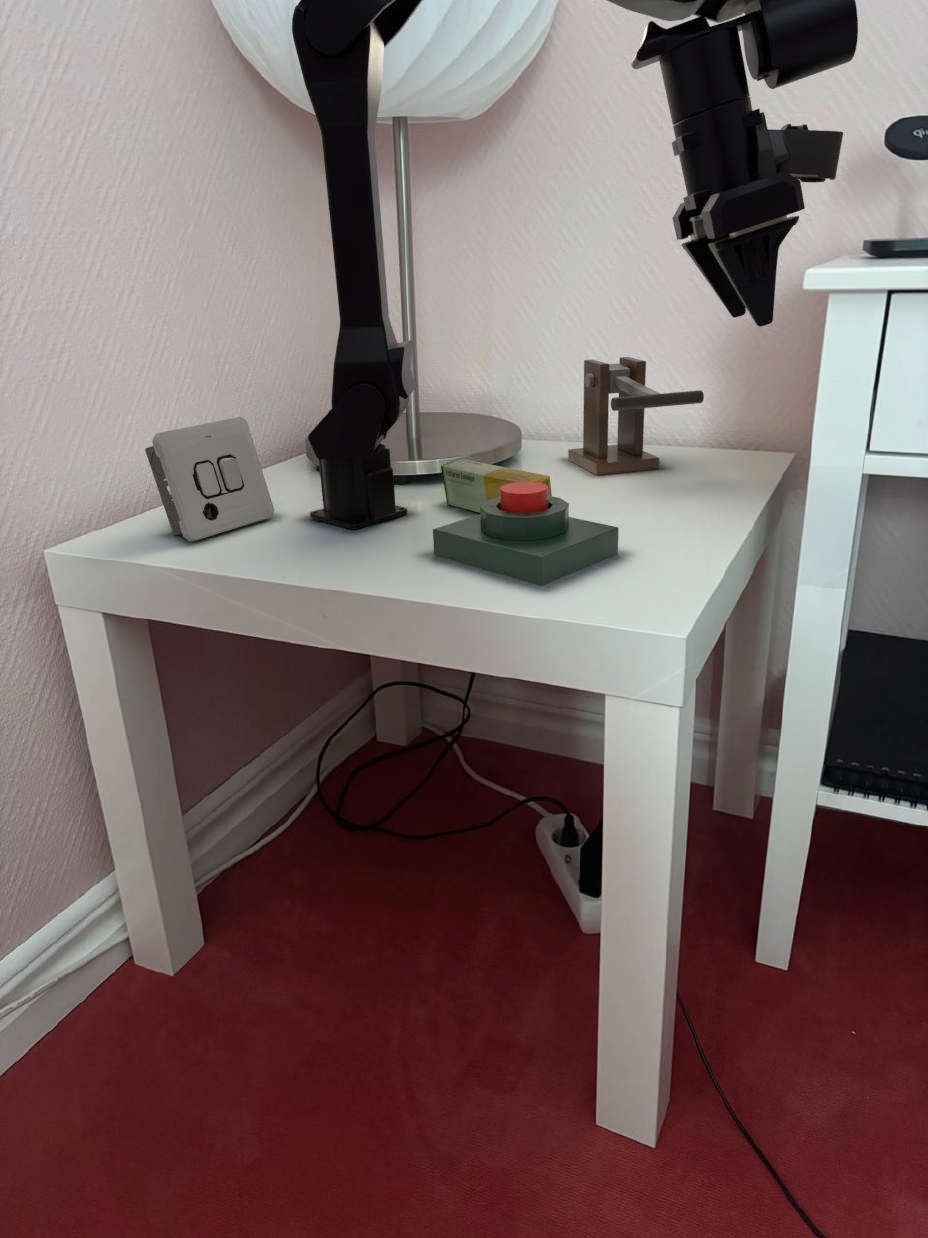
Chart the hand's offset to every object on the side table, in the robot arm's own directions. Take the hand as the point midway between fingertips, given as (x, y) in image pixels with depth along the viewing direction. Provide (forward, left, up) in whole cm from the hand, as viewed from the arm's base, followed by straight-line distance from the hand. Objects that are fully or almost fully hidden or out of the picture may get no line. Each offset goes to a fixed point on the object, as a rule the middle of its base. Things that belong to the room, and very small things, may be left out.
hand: (751, 320), depth 73 cm
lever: (-15, +6, -8) cm, 18 cm away
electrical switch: (-33, -32, -16) cm, 49 cm away
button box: (-6, -21, -16) cm, 27 cm away
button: (-6, -21, -12) cm, 25 cm away
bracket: (-19, +8, -16) cm, 26 cm away
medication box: (-16, -14, -16) cm, 26 cm away
